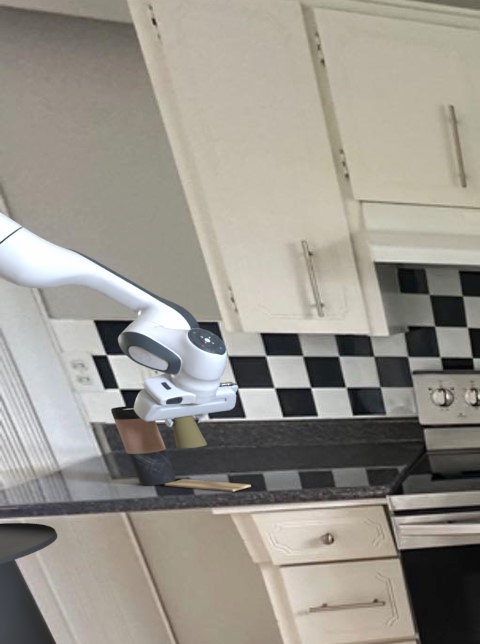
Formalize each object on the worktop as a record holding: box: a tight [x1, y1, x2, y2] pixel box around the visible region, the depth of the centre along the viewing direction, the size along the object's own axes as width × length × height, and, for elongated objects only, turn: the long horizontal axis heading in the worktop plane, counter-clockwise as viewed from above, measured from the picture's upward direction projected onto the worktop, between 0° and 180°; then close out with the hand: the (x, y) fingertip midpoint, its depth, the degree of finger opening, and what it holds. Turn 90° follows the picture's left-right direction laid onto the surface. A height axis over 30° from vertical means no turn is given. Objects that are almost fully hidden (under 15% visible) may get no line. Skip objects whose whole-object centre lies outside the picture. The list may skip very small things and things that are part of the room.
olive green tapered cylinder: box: [172, 416, 208, 449], centre depth 167 cm, size 6×6×11 cm
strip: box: [164, 478, 252, 493], centre depth 174 cm, size 5×22×1 cm, turn 79°
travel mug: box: [110, 405, 177, 486], centre depth 173 cm, size 8×8×20 cm
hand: (182, 423), depth 167 cm, fingers closed on olive green tapered cylinder, 4 cm apart
